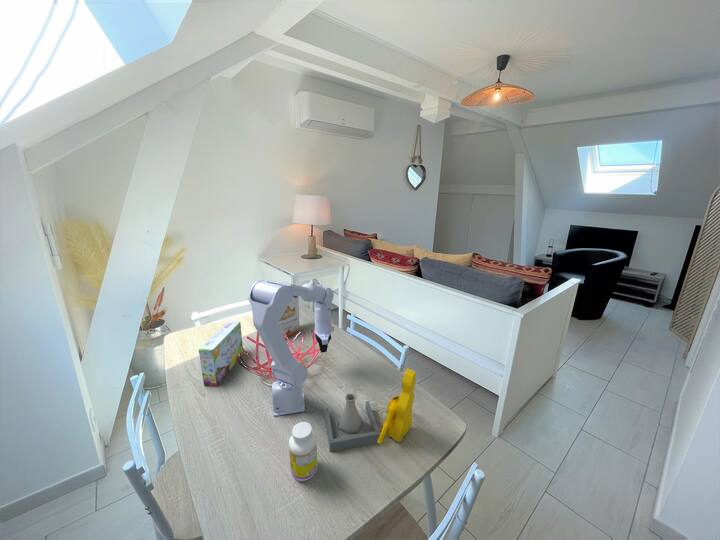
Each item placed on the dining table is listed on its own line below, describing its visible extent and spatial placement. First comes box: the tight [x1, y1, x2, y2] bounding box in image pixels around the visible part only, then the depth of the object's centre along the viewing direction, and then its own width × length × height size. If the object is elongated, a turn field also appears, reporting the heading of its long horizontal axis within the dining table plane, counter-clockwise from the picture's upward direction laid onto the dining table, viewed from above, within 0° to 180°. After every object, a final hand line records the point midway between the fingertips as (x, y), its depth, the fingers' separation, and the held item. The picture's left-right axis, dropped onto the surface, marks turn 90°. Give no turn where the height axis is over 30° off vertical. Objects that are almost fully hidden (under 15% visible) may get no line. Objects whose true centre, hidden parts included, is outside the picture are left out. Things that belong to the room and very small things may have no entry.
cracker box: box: [277, 296, 300, 339], centre depth 131 cm, size 14×6×21 cm, turn 142°
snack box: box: [198, 320, 244, 387], centre depth 108 cm, size 21×6×15 cm, turn 178°
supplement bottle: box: [288, 421, 318, 482], centre depth 69 cm, size 7×7×13 cm
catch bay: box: [324, 400, 381, 452], centre depth 83 cm, size 14×12×3 cm
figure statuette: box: [377, 368, 417, 445], centre depth 79 cm, size 18×8×22 cm, turn 147°
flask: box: [338, 392, 363, 434], centre depth 84 cm, size 7×7×10 cm
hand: (323, 351), depth 105 cm, fingers closed
